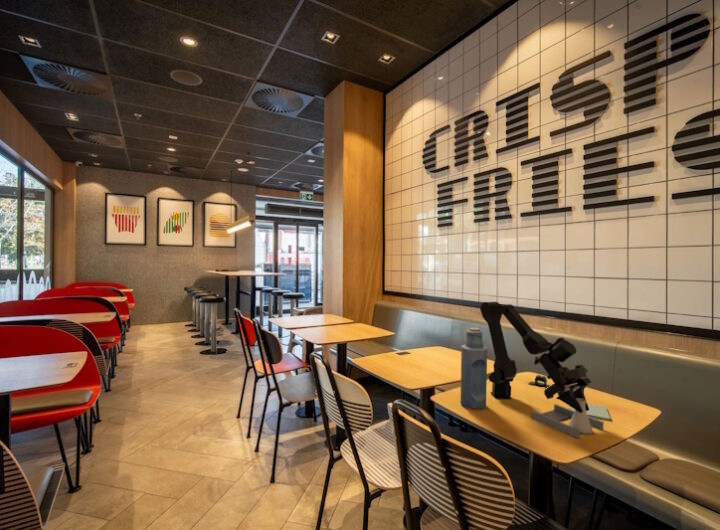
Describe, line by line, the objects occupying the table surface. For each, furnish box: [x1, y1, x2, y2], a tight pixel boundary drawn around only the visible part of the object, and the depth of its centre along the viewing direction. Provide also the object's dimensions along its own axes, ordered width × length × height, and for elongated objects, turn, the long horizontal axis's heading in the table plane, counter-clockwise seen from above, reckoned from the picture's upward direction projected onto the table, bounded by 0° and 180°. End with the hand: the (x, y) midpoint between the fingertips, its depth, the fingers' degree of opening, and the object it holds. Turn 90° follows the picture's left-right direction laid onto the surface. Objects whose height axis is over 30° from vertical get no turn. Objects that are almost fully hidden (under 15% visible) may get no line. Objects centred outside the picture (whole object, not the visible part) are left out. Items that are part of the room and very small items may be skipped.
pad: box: [569, 403, 611, 421], centre depth 138 cm, size 12×12×1 cm
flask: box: [568, 398, 594, 435], centre depth 123 cm, size 7×7×10 cm
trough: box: [530, 403, 604, 440], centre depth 127 cm, size 17×14×2 cm
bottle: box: [459, 327, 488, 410], centre depth 142 cm, size 10×10×30 cm
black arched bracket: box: [528, 374, 551, 389], centre depth 166 cm, size 12×7×5 cm, turn 46°
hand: (585, 411), depth 121 cm, fingers closed on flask, 3 cm apart
